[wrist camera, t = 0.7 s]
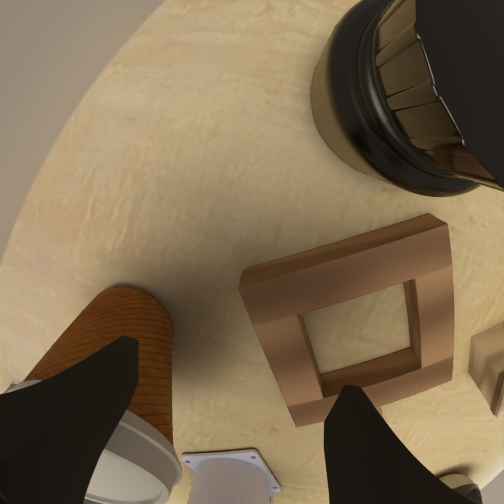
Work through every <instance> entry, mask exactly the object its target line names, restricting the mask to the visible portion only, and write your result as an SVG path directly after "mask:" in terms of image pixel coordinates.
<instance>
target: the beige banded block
mask: <svg viewBox="0 0 504 504" xmlns="http://www.w3.org/2000/svg"><path fill="white" fill-rule="evenodd" d="M468 373H469V374H470V376H471V377H472V379H473V380H474V382H475V383H476V385H477V387H478V388H479V390H480V391H481V393H482V395H483V396H484V398H485V400H486V401H487V403H488V405H489V406H490V410H491V411H492V413H493V415H494V416H496V418H499V417H500V416H502V415H504V322H502V323H500V324H498V325H496V326H494V327H492V328H490V329H488V330H486V331H484V332H482V333H479V334H477V335H475V336H473V337H471V348H470V360H469V369H468Z"/></svg>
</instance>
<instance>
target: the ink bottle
mask: <svg viewBox="0 0 504 504" xmlns="http://www.w3.org/2000/svg"><path fill="white" fill-rule="evenodd" d="M311 105H312V112H313V116H314V120H315V123H316V125H317V128H318V130H319V132H320V134H321V136H322V138H323V139H324V141H325V142H326V144H327V145H328V146H329V147H330V149H331V150H332V151H333V152H334V153H335V154H336V155H337V156H338V157H339V158H340V159H342V160H343V161H344V162H345V163H347V164H348V165H349V166H351V167H353V168H354V169H356V170H358V171H360V172H362V173H364V174H366V175H369V176H371V177H374V178H376V179H379V180H381V181H384V182H386V183H389V184H391V185H393V186H396V187H398V188H401V189H403V190H406V191H409V192H412V193H415V194H419V195H424V196H431V197H451V196H457V195H461V194H465V193H467V192H470V191H472V190H474V189H476V188H478V187H479V186H481V185H484V186H487V187H490V188H493V189H497V190H500V191H503V192H504V0H361V1H360V2H358V3H357V4H355V5H354V6H353V7H352V8H351V9H350V10H348V11H347V13H346V14H345V15H344V16H343V17H342V18H341V20H340V21H339V23H338V24H337V25H336V26H335V28H334V30H333V32H332V34H331V36H330V38H329V40H328V43H327V45H326V46H325V49H324V51H323V53H322V55H321V57H320V59H319V61H318V63H317V66H316V68H315V71H314V74H313V79H312V84H311Z"/></svg>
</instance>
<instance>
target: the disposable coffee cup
mask: <svg viewBox="0 0 504 504" xmlns="http://www.w3.org/2000/svg"><path fill="white" fill-rule="evenodd" d="M122 335H124V336H128V337H131V338H134V339H137V340H139V382H138V385H137V387H136V390H135V392H134V395H133V397H132V399H131V402H130V404H129V406H128V408H127V409H126V411H125V413H124V415H123V416H122V418H121V420H120V422H119V423H118V425H117V427H116V429H115V430H114V432H113V434H112V436H111V437H110V439H109V441H108V443H107V444H106V446H105V448H104V450H103V452H102V454H101V456H100V458H99V460H98V463H97V465H96V468H95V470H94V473H93V475H92V478H91V481H90V484H89V486H88V489H87V492H86V495H85V498H86V499H89V500H92V501H96V502H99V503H103V504H164V503H165V502H166V501H167V500H168V499H169V496H170V493H171V490H172V487H174V486H175V485H177V484H178V482H179V481H180V480H181V477H182V468H181V465H180V462H179V460H178V458H177V455H176V452H175V450H174V447H173V426H172V405H171V404H172V388H171V387H172V373H171V372H172V345H173V326H172V322H171V319H170V317H169V315H168V313H167V312H166V310H165V309H164V308H163V306H162V305H161V304H160V303H159V302H158V301H156V300H155V299H154V298H153V297H151V296H149V295H148V294H146V293H144V292H141V291H139V290H136V289H132V288H127V287H114V288H109V289H107V290H104V291H102V292H101V293H99V294H98V295H97V296H96V297H95V298H94V299H93V300H92V301H91V303H90V304H89V305H88V306H87V307H86V308H85V309H84V310H83V311H82V312H81V313H80V315H79V316H78V317H77V318H76V319H75V320H74V321H73V322H72V324H71V325H70V326H69V327H68V328H67V329H66V330H65V331H64V333H63V334H62V335H61V336H60V337H59V338H58V340H57V341H56V342H55V343H54V344H53V345H52V347H51V348H50V349H49V350H48V351H47V353H46V354H45V355H44V356H43V357H42V359H41V360H40V361H39V362H38V363H37V365H36V366H35V367H34V368H33V370H32V371H31V372H30V373H29V375H28V376H27V377H26V378H25V380H24V381H23V382H21V383H19V384H18V385H16V386H14V388H11V389H9V390H8V391H6V392H5V393H8V392H11V391H14V390H18V389H21V388H24V387H28V386H30V385H33V384H36V383H38V382H41V381H43V380H45V379H48V378H50V377H52V376H54V375H56V374H58V373H60V372H62V371H64V370H66V369H68V368H69V367H71V366H73V365H75V364H77V363H79V362H80V361H82V360H84V359H85V358H87V357H88V356H90V355H92V354H93V353H95V352H97V351H98V350H100V349H101V348H103V347H104V346H106V345H108V344H109V343H111V342H112V341H114V340H115V339H117V338H119V337H120V336H122Z"/></svg>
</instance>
